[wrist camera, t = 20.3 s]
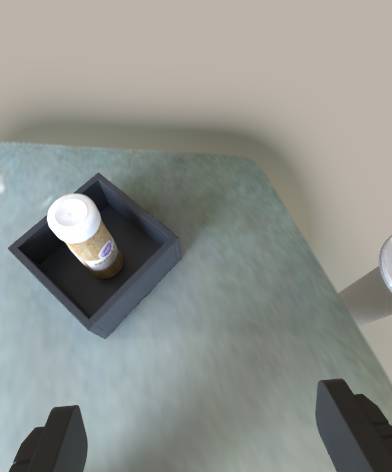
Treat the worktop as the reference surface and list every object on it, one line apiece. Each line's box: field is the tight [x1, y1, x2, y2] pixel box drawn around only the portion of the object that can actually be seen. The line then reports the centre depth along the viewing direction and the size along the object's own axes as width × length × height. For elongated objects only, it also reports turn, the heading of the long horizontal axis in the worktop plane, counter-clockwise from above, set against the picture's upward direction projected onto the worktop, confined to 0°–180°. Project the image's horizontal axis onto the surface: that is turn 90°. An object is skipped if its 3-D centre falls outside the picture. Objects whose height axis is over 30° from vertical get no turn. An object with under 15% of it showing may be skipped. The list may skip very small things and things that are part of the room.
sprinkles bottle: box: [47, 193, 123, 279], centre depth 37 cm, size 5×4×14 cm
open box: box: [8, 173, 181, 339], centre depth 41 cm, size 14×14×7 cm
